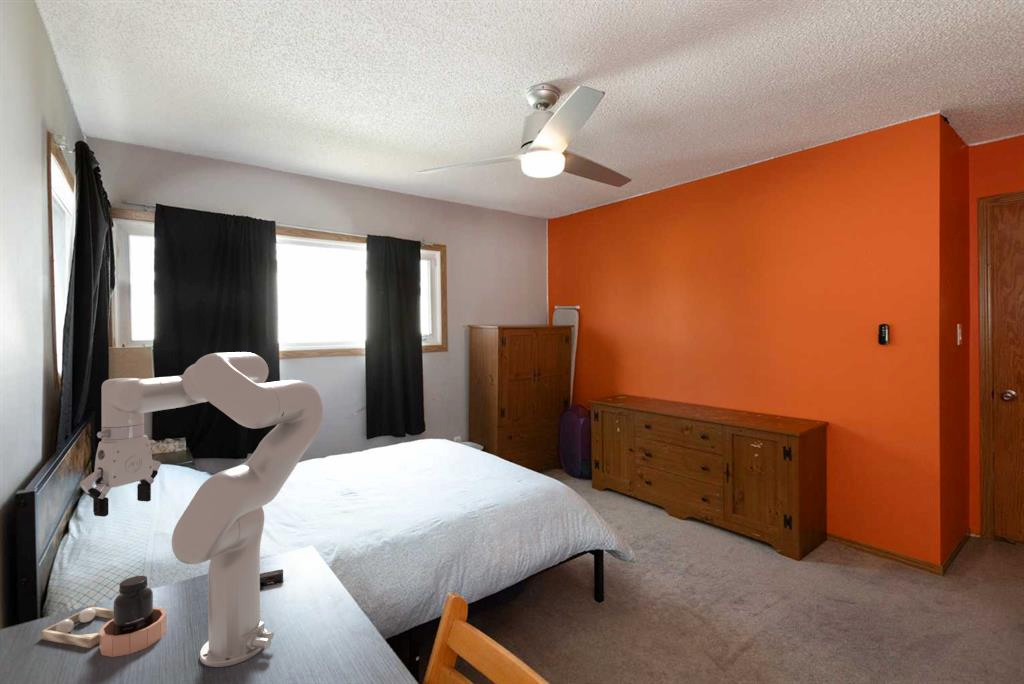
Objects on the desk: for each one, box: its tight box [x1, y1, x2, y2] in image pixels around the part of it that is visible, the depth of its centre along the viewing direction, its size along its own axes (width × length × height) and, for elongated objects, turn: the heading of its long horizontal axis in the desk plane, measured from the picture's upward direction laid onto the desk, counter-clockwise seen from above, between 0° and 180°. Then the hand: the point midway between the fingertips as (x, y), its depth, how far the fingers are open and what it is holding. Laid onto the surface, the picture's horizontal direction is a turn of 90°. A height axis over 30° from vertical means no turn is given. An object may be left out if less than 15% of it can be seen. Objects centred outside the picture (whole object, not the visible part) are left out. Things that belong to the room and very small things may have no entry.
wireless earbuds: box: [260, 568, 284, 591], centre depth 127 cm, size 4×7×3 cm, turn 116°
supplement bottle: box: [112, 575, 154, 636], centre depth 105 cm, size 7×7×12 cm
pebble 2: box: [78, 607, 96, 624], centre depth 111 cm, size 3×3×3 cm
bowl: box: [98, 606, 167, 658], centre depth 105 cm, size 11×11×4 cm
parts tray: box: [40, 605, 114, 649], centre depth 108 cm, size 14×10×2 cm
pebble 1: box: [55, 618, 75, 634], centre depth 107 cm, size 3×3×3 cm
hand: (123, 507), depth 109 cm, fingers open, 9 cm apart
